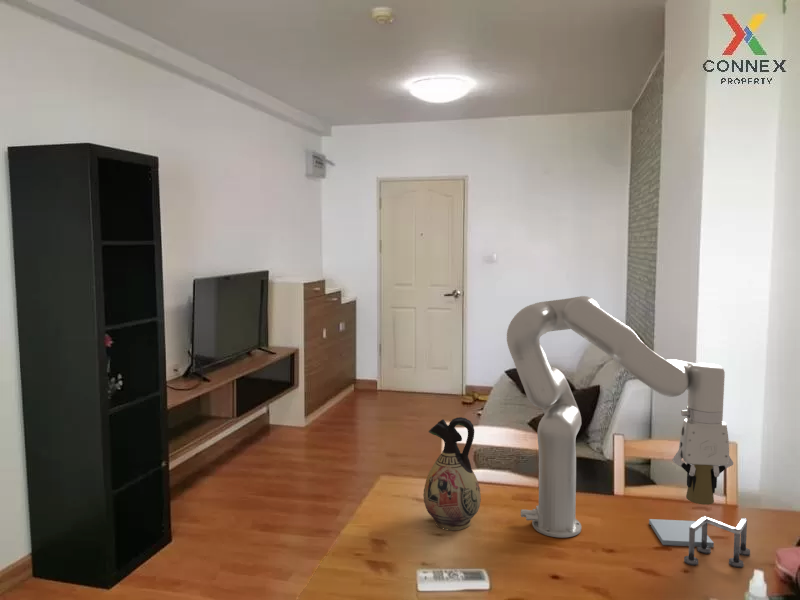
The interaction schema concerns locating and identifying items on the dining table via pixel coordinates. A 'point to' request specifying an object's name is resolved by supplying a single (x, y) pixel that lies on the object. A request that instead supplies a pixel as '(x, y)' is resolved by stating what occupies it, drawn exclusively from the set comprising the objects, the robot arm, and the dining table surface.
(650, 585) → the dining table surface
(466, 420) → the ceramic jug
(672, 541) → the pad
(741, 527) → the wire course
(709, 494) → the cork
